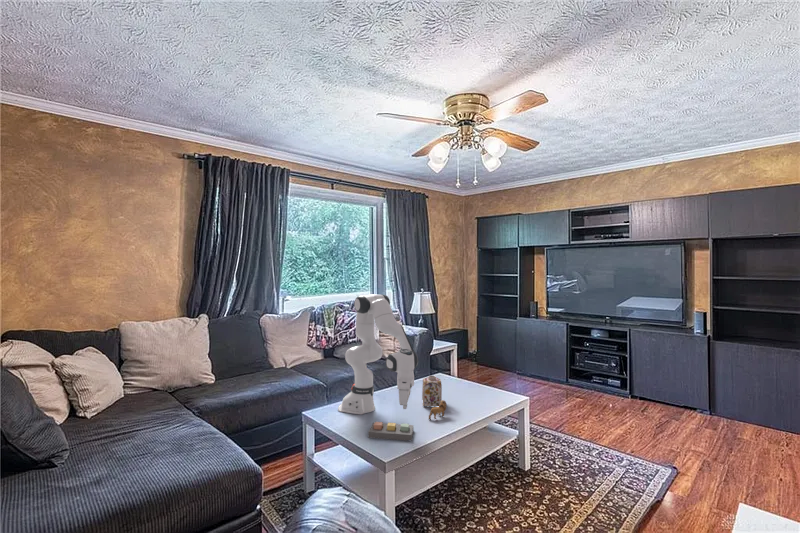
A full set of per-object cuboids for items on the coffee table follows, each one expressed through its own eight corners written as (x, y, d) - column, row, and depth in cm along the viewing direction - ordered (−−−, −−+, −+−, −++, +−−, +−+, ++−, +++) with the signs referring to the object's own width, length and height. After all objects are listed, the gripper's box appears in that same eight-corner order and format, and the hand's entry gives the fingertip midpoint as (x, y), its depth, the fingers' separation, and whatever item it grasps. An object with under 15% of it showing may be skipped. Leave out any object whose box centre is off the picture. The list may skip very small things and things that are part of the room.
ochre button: (387, 432, 202) (387, 425, 202) (388, 429, 206) (388, 422, 206) (394, 433, 202) (394, 426, 202) (395, 430, 206) (395, 423, 206)
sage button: (400, 433, 201) (400, 426, 201) (401, 430, 205) (401, 423, 205) (408, 434, 201) (408, 426, 201) (408, 431, 205) (409, 423, 205)
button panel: (368, 437, 199) (368, 431, 199) (372, 428, 211) (372, 422, 211) (411, 440, 197) (411, 434, 197) (413, 430, 208) (413, 425, 208)
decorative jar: (441, 407, 243) (442, 379, 243) (422, 407, 243) (423, 378, 243) (440, 401, 255) (440, 373, 255) (422, 400, 255) (422, 373, 255)
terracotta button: (373, 432, 203) (373, 424, 203) (375, 428, 207) (375, 421, 207) (381, 432, 202) (381, 425, 202) (382, 429, 206) (382, 422, 206)
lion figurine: (441, 413, 234) (441, 398, 234) (448, 415, 230) (448, 400, 230) (426, 420, 223) (426, 404, 223) (433, 423, 219) (433, 407, 219)
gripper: (401, 375, 214) (401, 400, 214) (397, 386, 193) (396, 414, 193) (413, 376, 213) (412, 401, 213) (409, 387, 193) (409, 415, 193)
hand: (405, 408), depth 203 cm, fingers closed
